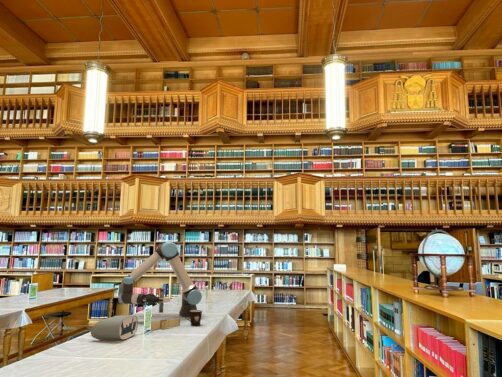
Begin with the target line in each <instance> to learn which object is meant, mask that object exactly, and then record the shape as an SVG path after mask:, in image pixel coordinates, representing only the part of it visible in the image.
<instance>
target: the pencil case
mask: <svg viewBox="0 0 502 377" xmlns="http://www.w3.org/2000/svg"><path fill="white" fill-rule="evenodd" d="M138 324H139V320H138V317H137V315H135V314H131V315H130V314H127V315H125V314H121V315H119V314H118V315H114V316H111V317H107V318H104V319H102V320H99V321H97V322H96V323H95V324H94V325H93V326H92V327H91V331H90V335H91V338H93V339H96V340H100V341H109V340H127V339H129V338H131V337H132V336H134V335H136V333H137V331H138V327H139V326H138Z"/></svg>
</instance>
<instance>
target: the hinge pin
mask: <svg viewBox="0 0 502 377" xmlns="http://www.w3.org/2000/svg"><path fill="white" fill-rule="evenodd" d="M165 289H166V288H165V287H159V288H158V290H159V297H160V298H165ZM164 303H165V302H159V301H158V304H159V306H158V313H162V314H163V313H164Z"/></svg>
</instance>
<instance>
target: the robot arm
mask: <svg viewBox="0 0 502 377" xmlns="http://www.w3.org/2000/svg"><path fill="white" fill-rule="evenodd" d="M163 260H165V261H166V263H169V264H170V266H171V269H172V270H173V273H174V274H175V278H177V281H178V282H179V284H180V285H181V288H182V290H181V307H180V309H179V312H178V315H179V316H180V317H186V318H187V317H188V318H189V317H190V315H189V314H186V313H190V310H198V307H197V305H198V304H200V302H201V301H202V297H203V296H202V295H203V294H202V292H201V291H200V290H199V289H198V286H197V285H196V284H195V283H193V282H192V279H191V277H190V276H189V274H188V272H187V269H186V268H185V266H184V263H183V261H181V258H180V252H179V250H178V246H177V244H176V243H174V242H173V241H165V242H162V243H161V244H160V245H159V246H158V247H157V248H156V249H155V250H154V251H153V254H151V255H150V256H149V257H148V258H147V259H145V260H144V261H143V262H142V263H141V264H140V265H139V266H137V267H136V268H135V269H134V270H132V271H131V273H129V274H128V275H127V276H124V277H123V278H122V280H121V283H120V284H121V286H122V291H121V292H120V294H118V296H117V297H118V302H119V304H124V305H145V303H157V304H159V302H164V303H169V302H171V297H164V298H160V296H149V295H148V296H147V295H146V294H145V293H134V284H135V282H137V281H138V280H140V278H141V277H143V276H144V275H145V274H146V273H147V272H148V271H150V270H151V269H152V268H153V267H154V266H155V265H157V264H158V263H159V262H160V261H163ZM185 314H186V315H185Z"/></svg>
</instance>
